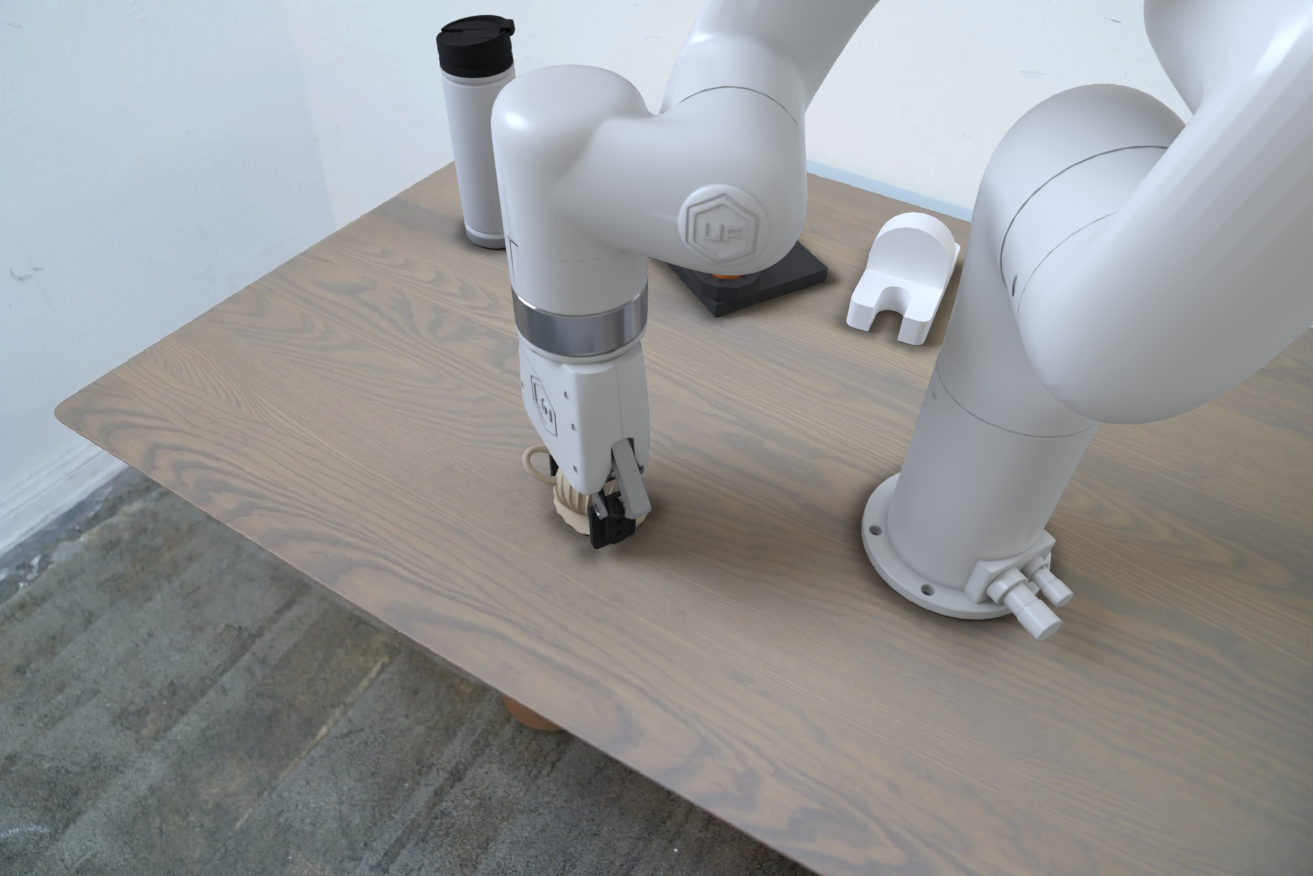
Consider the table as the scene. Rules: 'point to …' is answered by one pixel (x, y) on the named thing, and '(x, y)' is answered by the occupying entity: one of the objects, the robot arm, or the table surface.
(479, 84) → the travel mug
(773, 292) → the black flat block
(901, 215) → the slotted bracket
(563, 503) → the decorative ornament
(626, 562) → the table surface
